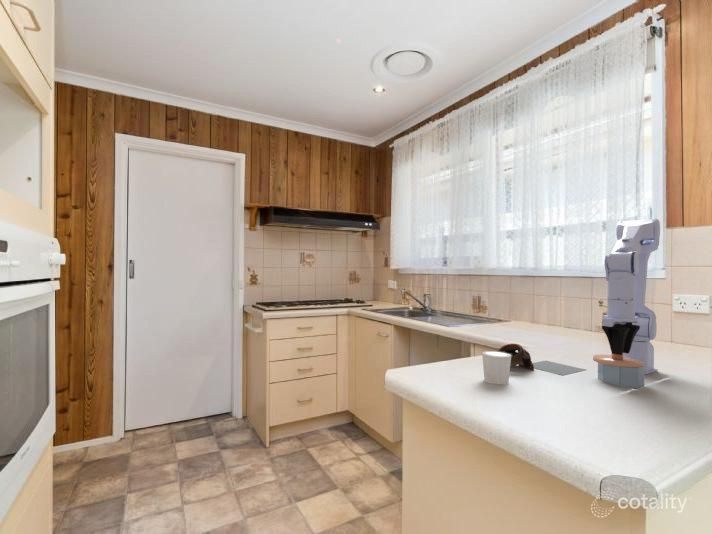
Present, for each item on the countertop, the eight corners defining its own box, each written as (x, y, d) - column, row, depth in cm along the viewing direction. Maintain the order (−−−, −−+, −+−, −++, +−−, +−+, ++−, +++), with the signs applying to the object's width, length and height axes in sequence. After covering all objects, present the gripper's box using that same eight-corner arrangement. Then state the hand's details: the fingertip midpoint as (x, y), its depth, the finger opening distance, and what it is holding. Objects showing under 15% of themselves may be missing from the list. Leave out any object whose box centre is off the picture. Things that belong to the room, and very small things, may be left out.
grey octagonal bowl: (609, 376, 99) (609, 357, 99) (648, 385, 91) (649, 364, 91) (592, 380, 94) (592, 361, 94) (632, 390, 87) (632, 369, 87)
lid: (603, 355, 101) (603, 339, 101) (650, 364, 92) (650, 346, 92) (585, 360, 95) (585, 343, 95) (633, 369, 86) (633, 351, 86)
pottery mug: (542, 376, 100) (532, 351, 98) (509, 389, 101) (498, 365, 99) (524, 355, 111) (514, 332, 109) (495, 367, 112) (484, 345, 111)
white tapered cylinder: (515, 381, 93) (515, 353, 93) (504, 387, 88) (505, 358, 88) (488, 375, 97) (488, 349, 98) (477, 381, 92) (477, 353, 92)
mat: (545, 361, 114) (545, 360, 114) (586, 371, 104) (586, 369, 104) (521, 366, 108) (521, 365, 108) (562, 377, 97) (562, 375, 97)
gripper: (617, 297, 100) (616, 347, 100) (589, 299, 93) (588, 353, 93) (648, 299, 94) (647, 352, 94) (620, 301, 87) (620, 359, 87)
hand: (620, 353), depth 93 cm, fingers open, 3 cm apart
